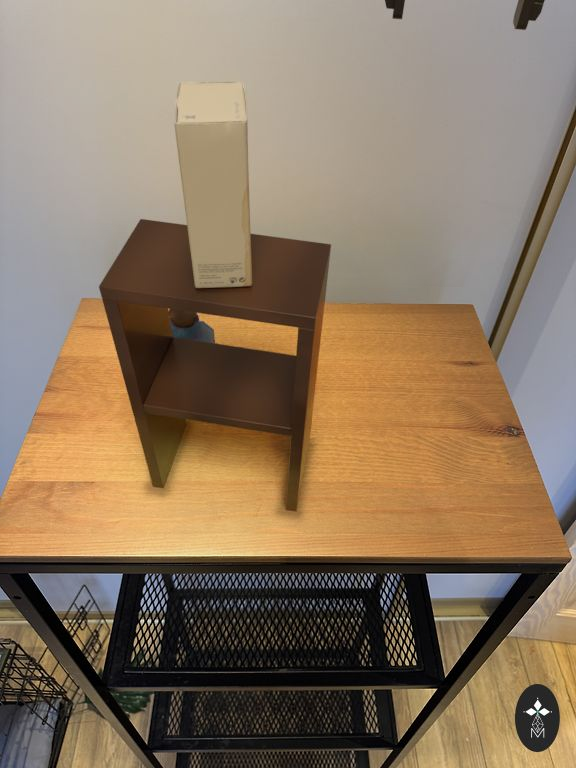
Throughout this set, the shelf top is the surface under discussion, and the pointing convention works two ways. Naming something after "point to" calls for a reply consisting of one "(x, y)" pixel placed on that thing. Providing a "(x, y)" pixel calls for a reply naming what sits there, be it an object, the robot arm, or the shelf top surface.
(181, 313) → the perfume bottle
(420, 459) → the shelf top surface
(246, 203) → the cosmetic box
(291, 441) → the walnut shelf
